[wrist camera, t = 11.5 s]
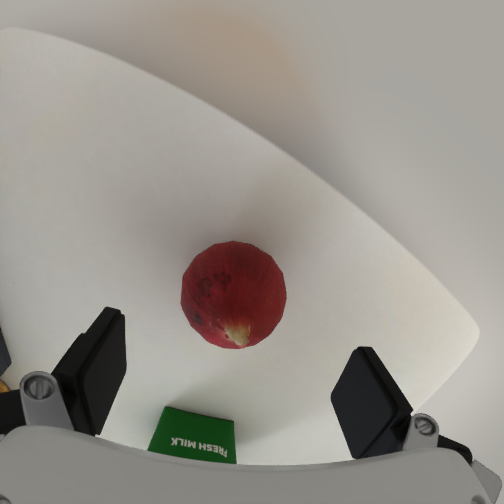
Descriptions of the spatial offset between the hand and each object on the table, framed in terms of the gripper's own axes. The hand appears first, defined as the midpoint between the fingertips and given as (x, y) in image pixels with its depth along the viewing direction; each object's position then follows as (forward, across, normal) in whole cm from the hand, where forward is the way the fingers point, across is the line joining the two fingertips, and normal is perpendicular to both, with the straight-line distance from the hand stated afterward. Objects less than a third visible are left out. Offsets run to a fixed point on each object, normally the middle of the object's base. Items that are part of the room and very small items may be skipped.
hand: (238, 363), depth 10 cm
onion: (+10, 0, 0) cm, 10 cm away
